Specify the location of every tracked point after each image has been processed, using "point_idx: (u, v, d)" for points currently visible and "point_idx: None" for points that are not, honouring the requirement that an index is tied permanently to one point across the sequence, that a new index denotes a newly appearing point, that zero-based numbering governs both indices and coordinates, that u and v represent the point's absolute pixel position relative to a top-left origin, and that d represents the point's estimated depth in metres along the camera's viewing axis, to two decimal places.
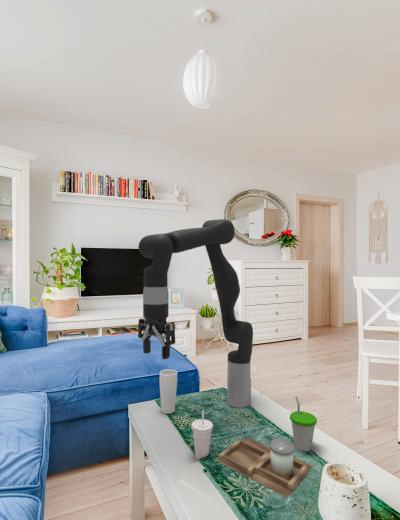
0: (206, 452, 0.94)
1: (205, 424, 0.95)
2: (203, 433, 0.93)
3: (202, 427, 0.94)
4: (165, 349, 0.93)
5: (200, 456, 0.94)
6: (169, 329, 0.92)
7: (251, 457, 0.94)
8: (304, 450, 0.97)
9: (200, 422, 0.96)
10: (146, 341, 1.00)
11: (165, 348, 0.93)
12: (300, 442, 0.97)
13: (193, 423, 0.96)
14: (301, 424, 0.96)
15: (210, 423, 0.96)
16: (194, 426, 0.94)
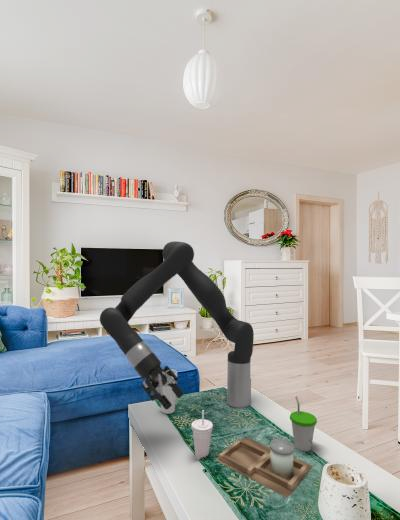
0: (206, 452, 0.94)
1: (205, 424, 0.95)
2: (203, 433, 0.93)
3: (202, 427, 0.94)
4: None
5: (200, 456, 0.94)
6: (144, 387, 0.95)
7: (251, 457, 0.94)
8: (304, 450, 0.97)
9: (200, 422, 0.96)
10: (172, 387, 1.03)
11: None
12: (300, 442, 0.97)
13: (193, 423, 0.96)
14: (301, 424, 0.96)
15: (210, 423, 0.96)
16: (194, 426, 0.94)
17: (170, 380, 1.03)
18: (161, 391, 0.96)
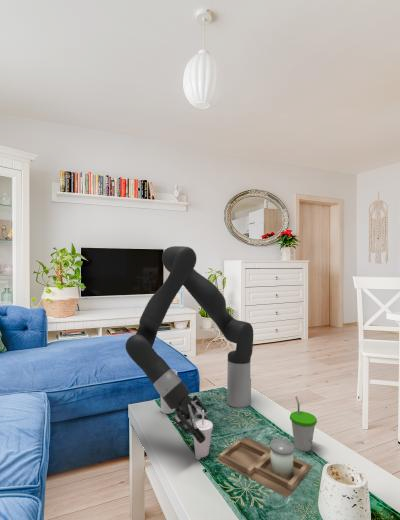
0: (206, 452, 0.94)
1: (205, 424, 0.95)
2: (203, 433, 0.93)
3: (202, 427, 0.94)
4: None
5: (200, 456, 0.94)
6: (176, 421, 0.91)
7: (251, 457, 0.94)
8: (304, 450, 0.97)
9: (200, 422, 0.96)
10: None
11: None
12: (300, 442, 0.97)
13: None
14: (301, 424, 0.96)
15: (210, 423, 0.96)
16: None
17: (199, 411, 0.98)
18: (194, 424, 0.93)
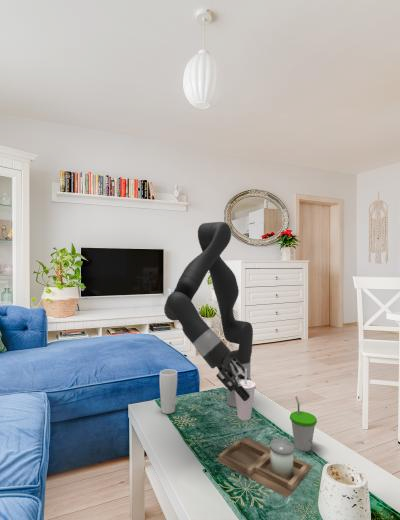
0: (249, 411, 0.91)
1: (248, 383, 0.93)
2: (247, 391, 0.90)
3: (245, 385, 0.91)
4: (238, 392, 0.89)
5: (243, 415, 0.91)
6: (220, 378, 0.88)
7: (251, 457, 0.94)
8: (304, 450, 0.97)
9: (242, 381, 0.94)
10: None
11: None
12: (300, 442, 0.97)
13: (235, 382, 0.93)
14: (301, 424, 0.96)
15: (252, 382, 0.94)
16: None
17: (240, 371, 0.96)
18: (238, 381, 0.90)
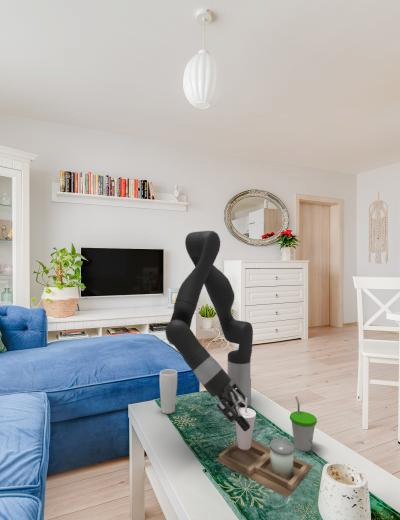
0: (249, 441, 0.91)
1: (248, 412, 0.92)
2: (247, 421, 0.90)
3: (246, 415, 0.91)
4: None
5: (243, 445, 0.91)
6: (220, 409, 0.88)
7: (251, 457, 0.94)
8: (304, 450, 0.97)
9: (242, 410, 0.94)
10: None
11: None
12: (300, 442, 0.97)
13: (235, 411, 0.93)
14: (301, 424, 0.96)
15: (253, 411, 0.93)
16: None
17: (240, 399, 0.96)
18: (238, 411, 0.90)
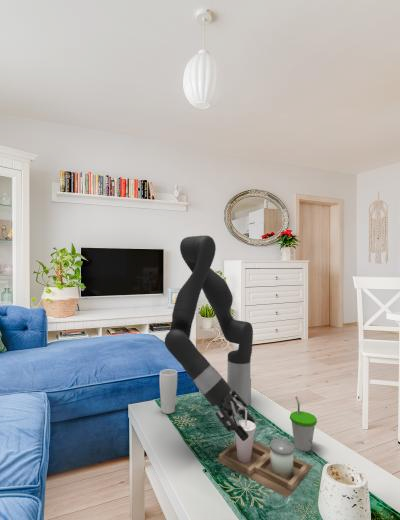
0: (249, 454, 0.91)
1: (248, 425, 0.93)
2: None
3: (245, 428, 0.91)
4: None
5: (243, 458, 0.91)
6: (219, 417, 0.88)
7: (251, 457, 0.94)
8: (304, 450, 0.97)
9: (242, 423, 0.94)
10: (243, 414, 0.97)
11: None
12: (300, 442, 0.97)
13: None
14: (301, 424, 0.96)
15: (253, 424, 0.94)
16: None
17: (241, 407, 0.96)
18: (237, 421, 0.89)
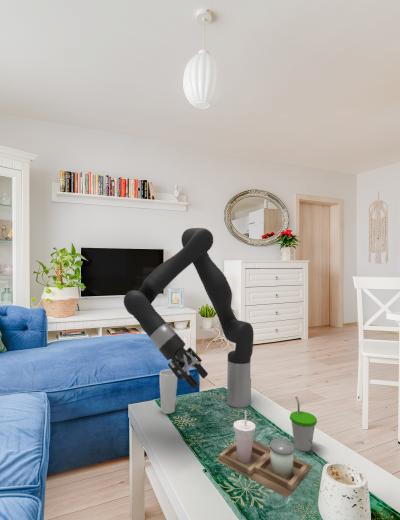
0: (249, 454, 0.91)
1: (248, 425, 0.93)
2: (247, 434, 0.90)
3: (245, 428, 0.91)
4: None
5: (243, 458, 0.91)
6: (171, 367, 0.96)
7: (251, 457, 0.94)
8: (304, 450, 0.97)
9: (242, 423, 0.94)
10: (197, 368, 1.05)
11: None
12: (300, 442, 0.97)
13: (235, 424, 0.94)
14: (301, 424, 0.96)
15: (252, 424, 0.94)
16: (237, 427, 0.92)
17: (194, 361, 1.04)
18: (187, 371, 0.97)
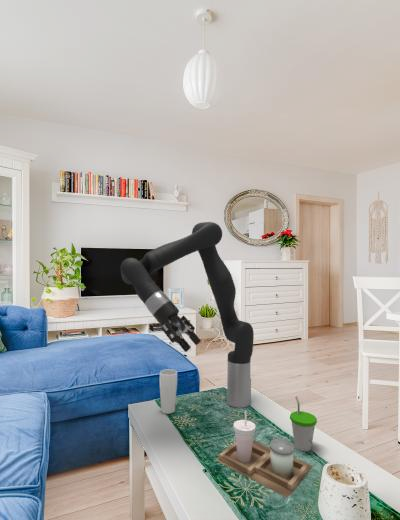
0: (249, 454, 0.91)
1: (248, 425, 0.93)
2: (247, 434, 0.90)
3: (245, 428, 0.91)
4: None
5: (243, 458, 0.91)
6: (164, 330, 0.98)
7: (251, 457, 0.94)
8: (304, 450, 0.97)
9: (242, 423, 0.94)
10: (190, 335, 1.07)
11: None
12: (300, 442, 0.97)
13: (235, 424, 0.94)
14: (301, 424, 0.96)
15: (252, 424, 0.94)
16: (237, 427, 0.92)
17: (188, 327, 1.06)
18: (180, 334, 0.99)
